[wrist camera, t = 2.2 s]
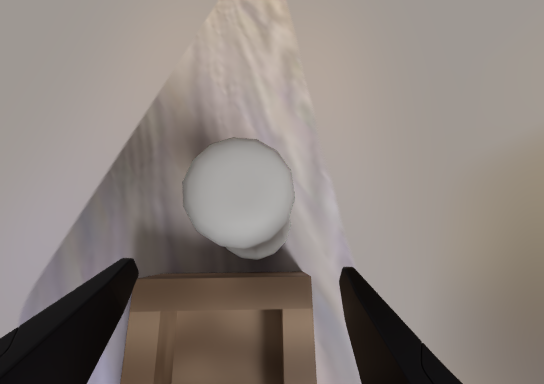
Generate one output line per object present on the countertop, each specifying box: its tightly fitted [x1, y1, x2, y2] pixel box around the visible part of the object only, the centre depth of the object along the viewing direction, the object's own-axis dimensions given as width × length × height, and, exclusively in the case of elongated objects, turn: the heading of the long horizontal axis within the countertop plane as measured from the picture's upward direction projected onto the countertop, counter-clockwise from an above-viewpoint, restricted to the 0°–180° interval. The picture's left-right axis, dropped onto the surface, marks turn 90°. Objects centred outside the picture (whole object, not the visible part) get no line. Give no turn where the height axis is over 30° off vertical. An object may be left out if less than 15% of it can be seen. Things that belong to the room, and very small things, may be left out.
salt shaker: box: [182, 137, 295, 260], centre depth 14 cm, size 6×6×13 cm
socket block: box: [120, 271, 317, 384], centre depth 16 cm, size 12×12×4 cm
